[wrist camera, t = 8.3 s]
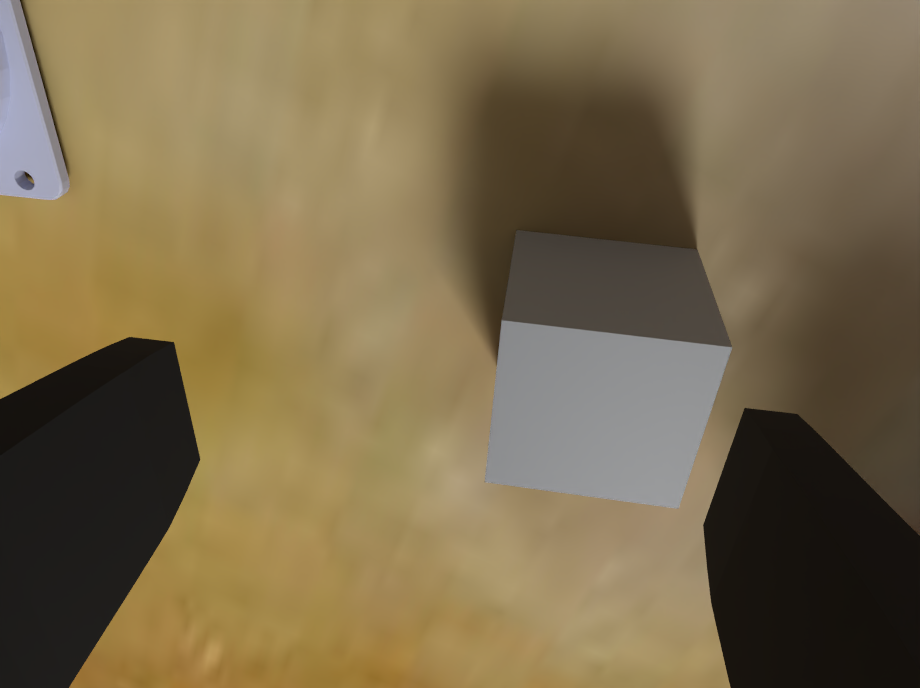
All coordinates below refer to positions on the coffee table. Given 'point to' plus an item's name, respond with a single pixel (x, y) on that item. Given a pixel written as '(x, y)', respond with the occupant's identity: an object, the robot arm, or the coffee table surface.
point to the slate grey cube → (604, 368)
